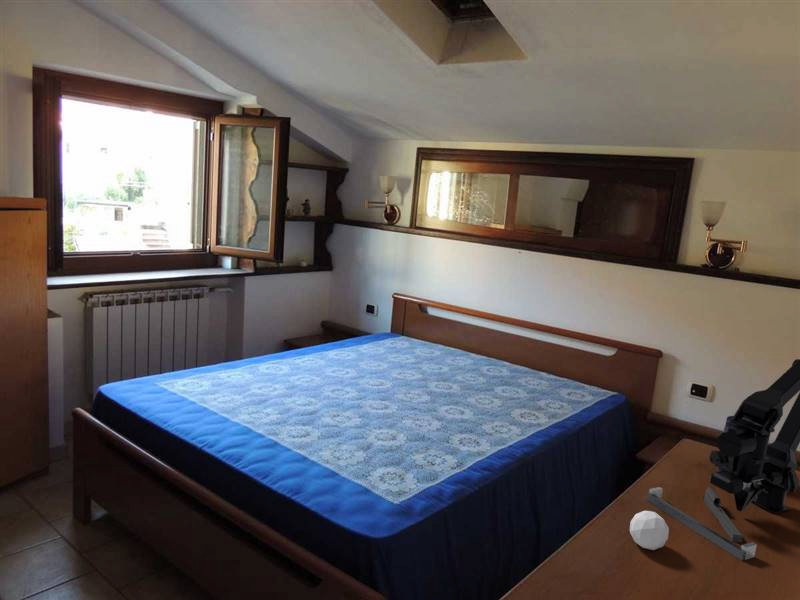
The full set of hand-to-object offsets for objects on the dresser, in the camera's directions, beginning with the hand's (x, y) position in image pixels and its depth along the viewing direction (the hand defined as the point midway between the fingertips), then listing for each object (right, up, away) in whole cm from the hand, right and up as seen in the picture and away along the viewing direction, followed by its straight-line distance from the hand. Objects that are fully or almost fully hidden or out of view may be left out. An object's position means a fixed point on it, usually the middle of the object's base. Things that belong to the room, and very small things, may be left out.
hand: (739, 510), depth 151 cm
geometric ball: (-29, -2, -16) cm, 33 cm away
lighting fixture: (-5, -2, -2) cm, 6 cm away
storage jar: (+12, +2, +25) cm, 28 cm away
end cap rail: (-13, -2, -6) cm, 15 cm away
